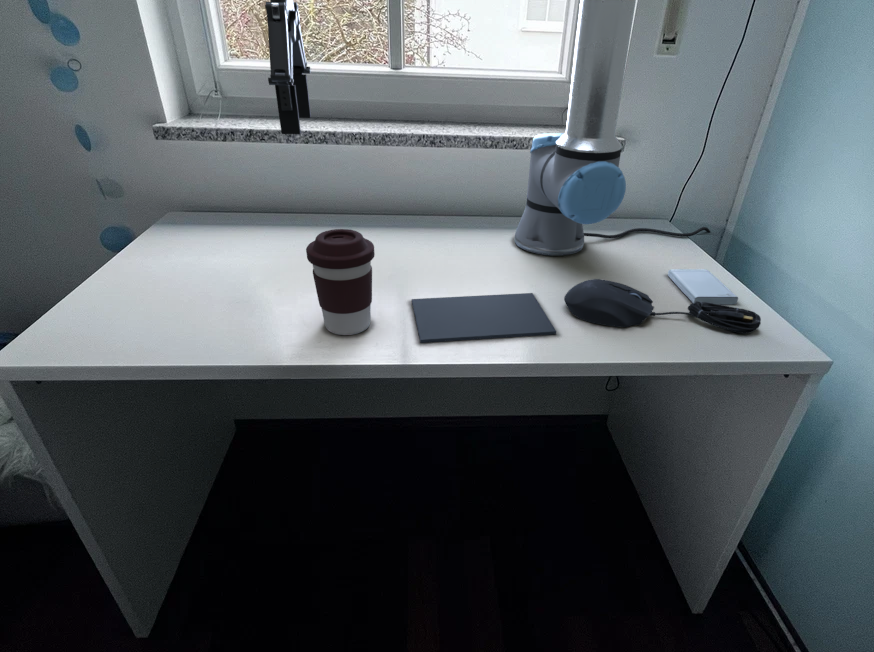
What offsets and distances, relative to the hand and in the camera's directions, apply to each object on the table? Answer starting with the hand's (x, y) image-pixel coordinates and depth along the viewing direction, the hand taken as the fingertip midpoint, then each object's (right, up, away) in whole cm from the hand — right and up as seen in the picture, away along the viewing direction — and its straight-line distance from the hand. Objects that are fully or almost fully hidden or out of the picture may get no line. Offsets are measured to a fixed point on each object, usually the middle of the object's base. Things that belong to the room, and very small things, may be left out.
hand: (297, 125), depth 87 cm
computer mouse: (+60, -31, +7) cm, 67 cm away
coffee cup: (+8, -32, +2) cm, 33 cm away
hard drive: (+72, -24, +17) cm, 78 cm away
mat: (+29, -30, +5) cm, 43 cm away
